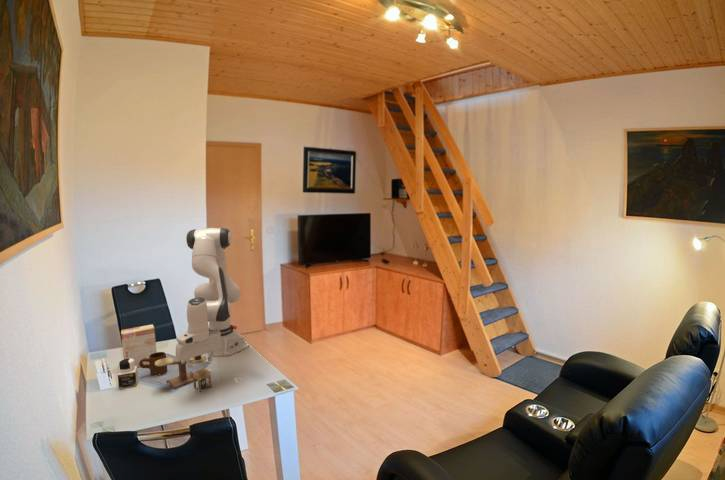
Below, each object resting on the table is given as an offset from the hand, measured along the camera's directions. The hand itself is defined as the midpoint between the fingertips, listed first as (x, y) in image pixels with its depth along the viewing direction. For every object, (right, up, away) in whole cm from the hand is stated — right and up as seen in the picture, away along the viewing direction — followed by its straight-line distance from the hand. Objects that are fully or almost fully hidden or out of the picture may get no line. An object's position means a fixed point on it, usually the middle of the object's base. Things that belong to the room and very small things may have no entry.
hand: (200, 363), depth 181 cm
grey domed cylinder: (0, -12, +2) cm, 12 cm away
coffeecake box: (-42, -9, +28) cm, 51 cm away
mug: (-30, -10, +17) cm, 35 cm away
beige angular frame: (+14, -10, +14) cm, 22 cm away
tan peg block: (0, -12, +2) cm, 12 cm away
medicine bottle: (-36, -12, +6) cm, 39 cm away
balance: (-12, -11, +8) cm, 18 cm away
